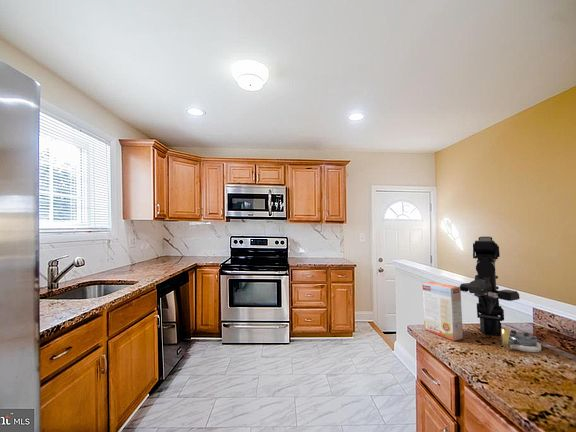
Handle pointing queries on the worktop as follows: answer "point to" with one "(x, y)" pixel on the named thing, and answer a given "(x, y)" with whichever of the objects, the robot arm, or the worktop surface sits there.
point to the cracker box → (442, 310)
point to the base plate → (527, 347)
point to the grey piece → (517, 338)
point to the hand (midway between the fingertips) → (488, 313)
